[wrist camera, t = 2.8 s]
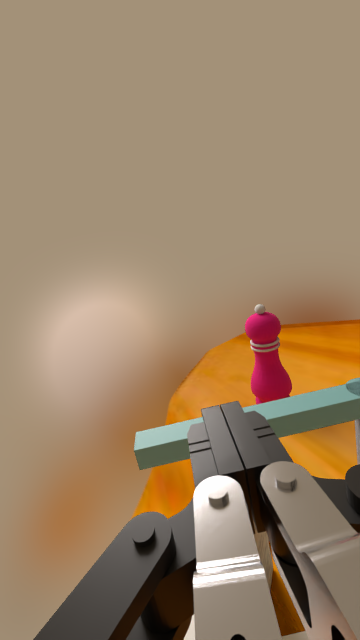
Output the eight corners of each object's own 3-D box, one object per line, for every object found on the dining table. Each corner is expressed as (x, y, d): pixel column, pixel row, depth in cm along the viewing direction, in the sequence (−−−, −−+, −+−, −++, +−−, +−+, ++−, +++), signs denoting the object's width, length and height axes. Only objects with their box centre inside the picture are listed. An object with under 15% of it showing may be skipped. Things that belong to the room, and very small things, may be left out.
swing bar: (374, 392, 25) (373, 374, 25) (404, 413, 22) (404, 392, 22) (141, 446, 25) (136, 428, 25) (139, 475, 22) (133, 455, 21)
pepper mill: (265, 422, 51) (248, 313, 46) (248, 402, 58) (231, 305, 53) (302, 410, 52) (290, 302, 47) (281, 392, 59) (268, 296, 54)
